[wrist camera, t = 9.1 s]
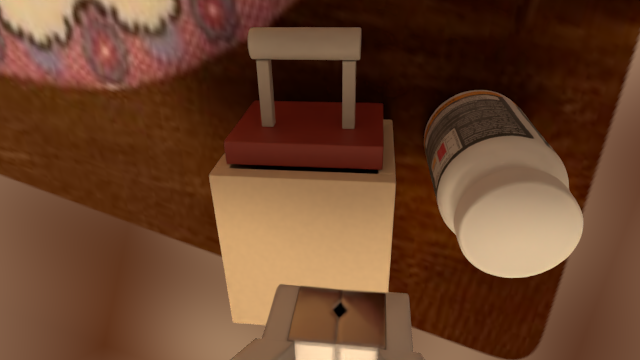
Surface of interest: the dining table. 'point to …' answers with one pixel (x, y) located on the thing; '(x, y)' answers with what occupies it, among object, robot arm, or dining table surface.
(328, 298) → the robot arm
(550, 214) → the pill bottle
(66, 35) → the dining table surface
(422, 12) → the dining table surface
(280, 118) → the drawer
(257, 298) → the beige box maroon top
